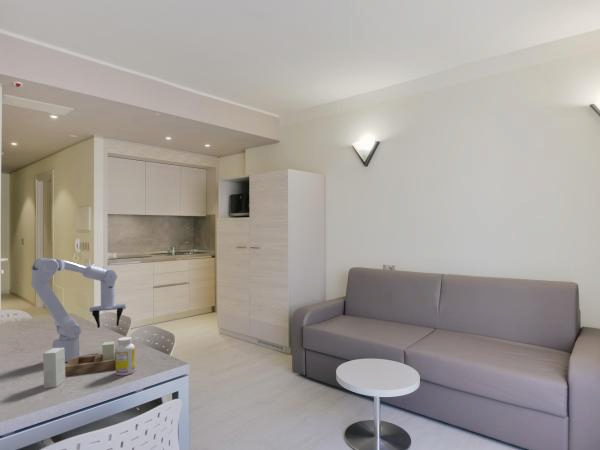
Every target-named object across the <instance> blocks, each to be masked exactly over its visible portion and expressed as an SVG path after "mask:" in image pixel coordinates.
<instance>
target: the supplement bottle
mask: <svg viewBox="0 0 600 450" xmlns="http://www.w3.org/2000/svg"><path fill="white" fill-rule="evenodd" d="M132 340H133V339H132V337H131V336H122V337H120V338H118V339H117V343H118V345H117V346H116V347H115V358H116V369H115V375H117V376H127V375H130V374H133V373H134V372H135V371H136V353H135V352H136V348H135V345H134V343H132Z"/></svg>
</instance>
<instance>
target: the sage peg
mask: <svg viewBox="0 0 600 450" xmlns="http://www.w3.org/2000/svg"><path fill="white" fill-rule="evenodd" d="M101 348H102V354H103V361H106V360H113V359H115V349H116V347H115V341H114V340H113V341H107V342H106V341H105V342H103V343H102V347H101Z"/></svg>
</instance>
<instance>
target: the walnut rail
mask: <svg viewBox="0 0 600 450" xmlns="http://www.w3.org/2000/svg"><path fill="white" fill-rule="evenodd" d="M66 363H67V364H65V377H66V376H67V377H68V376H75V375H82V374H89V373H94V372H96V373H97V372H102V371H109V370H110V371H111V370H116V358H115V359H113V360H106V361H103V353H100V354H98V353H97V354H90V355H83V356H82V355H81V357H73V358H70V360H69V362H66Z"/></svg>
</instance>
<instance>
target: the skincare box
mask: <svg viewBox="0 0 600 450" xmlns="http://www.w3.org/2000/svg"><path fill="white" fill-rule="evenodd" d="M42 355H43V357H42V359H43V360H42V361H43V362H42V363H43V364H42V365H43V388H44V389H47V388H48V389H52V388H58V386H60V385H61V384H63V383H64V382H65V381H66V376H65V367H66V362H65V350H64V348H52V347H51V349H49V350H47V351H45V352H43V354H42Z"/></svg>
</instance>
